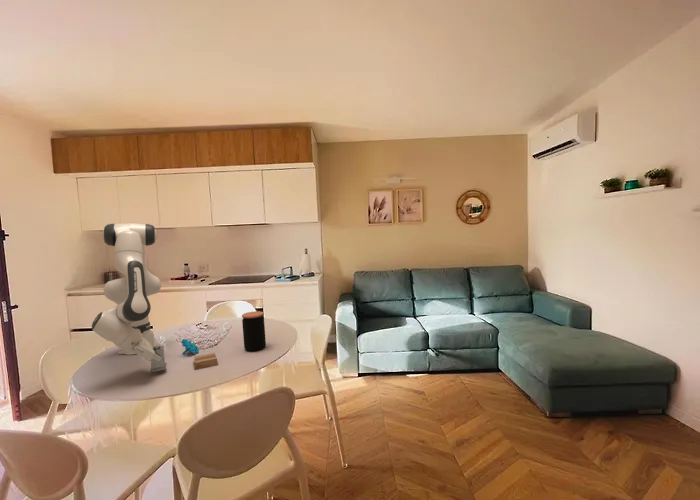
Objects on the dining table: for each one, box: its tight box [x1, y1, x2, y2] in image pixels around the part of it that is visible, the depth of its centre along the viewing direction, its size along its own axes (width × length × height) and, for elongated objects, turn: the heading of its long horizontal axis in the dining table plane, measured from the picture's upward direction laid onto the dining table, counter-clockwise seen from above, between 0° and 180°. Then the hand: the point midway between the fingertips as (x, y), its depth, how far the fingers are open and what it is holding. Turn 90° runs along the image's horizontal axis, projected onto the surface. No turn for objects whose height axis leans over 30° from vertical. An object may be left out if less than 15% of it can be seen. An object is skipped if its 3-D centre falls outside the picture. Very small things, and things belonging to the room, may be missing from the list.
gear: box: [181, 338, 200, 355], centre depth 179 cm, size 11×6×10 cm
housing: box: [149, 345, 167, 373], centre depth 156 cm, size 6×6×10 cm
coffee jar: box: [241, 310, 267, 353], centre depth 180 cm, size 11×11×18 cm
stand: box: [193, 352, 219, 371], centre depth 163 cm, size 10×10×3 cm
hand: (159, 357), depth 156 cm, fingers closed on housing, 5 cm apart
